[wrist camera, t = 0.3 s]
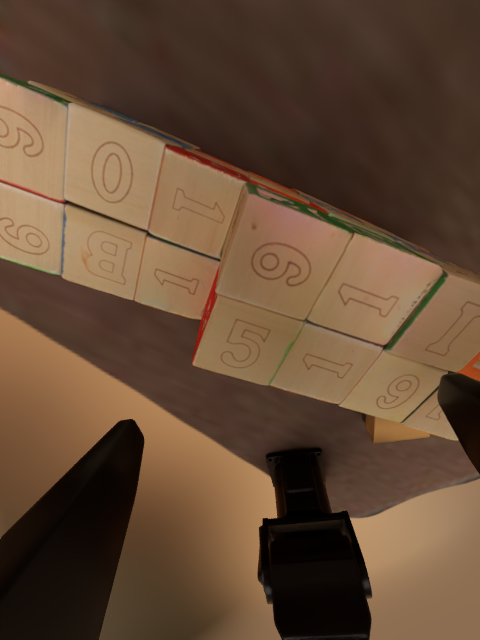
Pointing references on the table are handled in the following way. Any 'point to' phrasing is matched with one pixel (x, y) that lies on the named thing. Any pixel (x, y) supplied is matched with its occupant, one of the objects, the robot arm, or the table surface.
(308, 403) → the table surface
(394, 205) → the table surface
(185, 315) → the tan printed boxy piece
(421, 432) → the chalkboard eraser
